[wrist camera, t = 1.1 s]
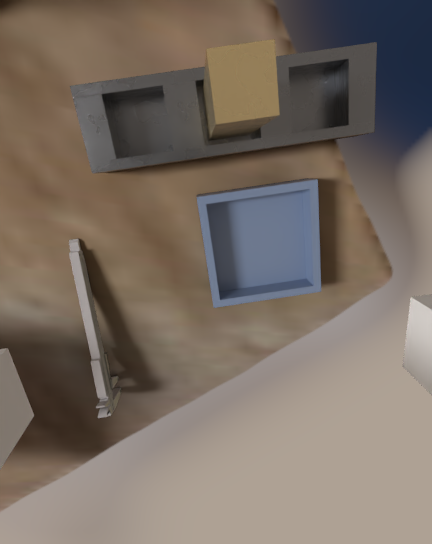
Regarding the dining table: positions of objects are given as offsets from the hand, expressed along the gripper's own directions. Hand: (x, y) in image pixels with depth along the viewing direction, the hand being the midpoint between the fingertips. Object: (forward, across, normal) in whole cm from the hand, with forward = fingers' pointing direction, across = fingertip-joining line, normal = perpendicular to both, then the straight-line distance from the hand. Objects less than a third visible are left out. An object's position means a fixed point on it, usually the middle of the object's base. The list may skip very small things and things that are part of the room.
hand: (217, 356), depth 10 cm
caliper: (+26, -14, -10) cm, 31 cm away
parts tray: (+25, +6, -3) cm, 26 cm away
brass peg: (+24, +4, +10) cm, 27 cm away
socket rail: (+25, +4, +10) cm, 27 cm away
